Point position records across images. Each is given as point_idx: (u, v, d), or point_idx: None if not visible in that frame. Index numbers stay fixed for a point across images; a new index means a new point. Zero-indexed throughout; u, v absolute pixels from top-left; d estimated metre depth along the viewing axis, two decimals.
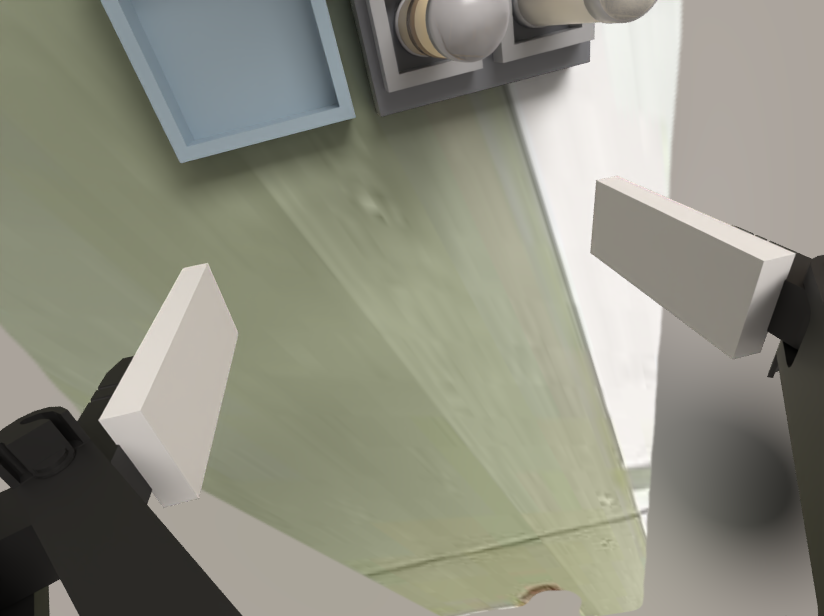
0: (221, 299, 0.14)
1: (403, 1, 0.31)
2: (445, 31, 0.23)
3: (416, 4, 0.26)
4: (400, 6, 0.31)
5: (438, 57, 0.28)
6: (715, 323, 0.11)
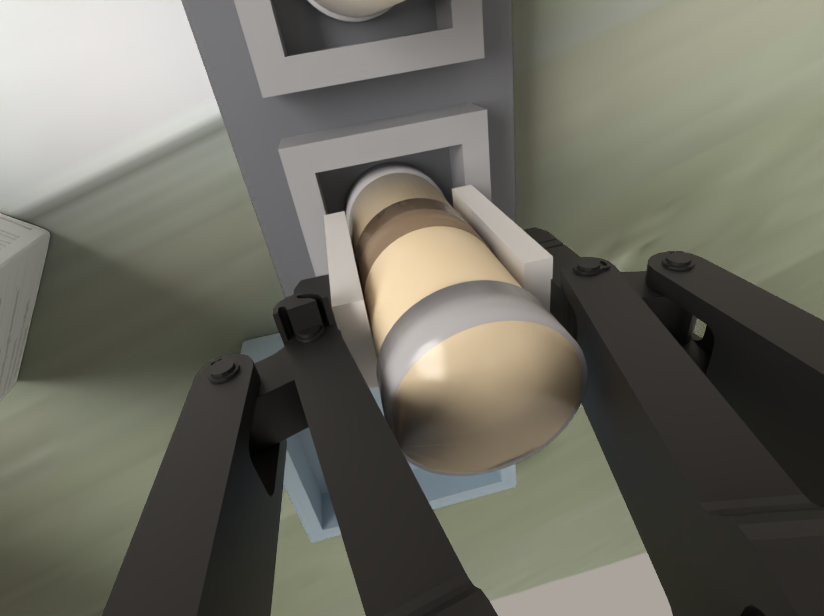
0: None
1: None
2: (509, 448, 0.10)
3: None
4: None
5: None
6: None
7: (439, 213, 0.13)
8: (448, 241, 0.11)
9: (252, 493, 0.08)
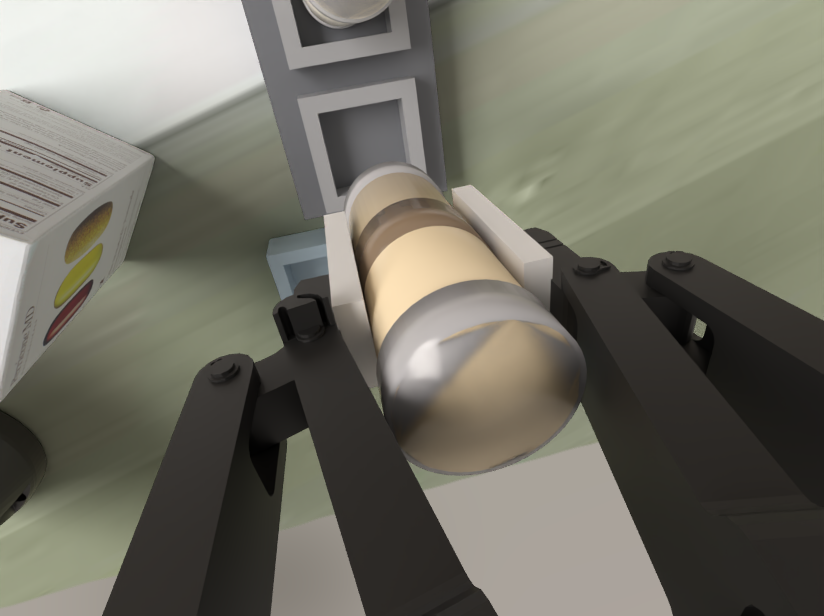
0: None
1: None
2: (509, 447, 0.10)
3: None
4: None
5: None
6: None
7: (439, 213, 0.13)
8: (448, 241, 0.11)
9: (252, 493, 0.08)
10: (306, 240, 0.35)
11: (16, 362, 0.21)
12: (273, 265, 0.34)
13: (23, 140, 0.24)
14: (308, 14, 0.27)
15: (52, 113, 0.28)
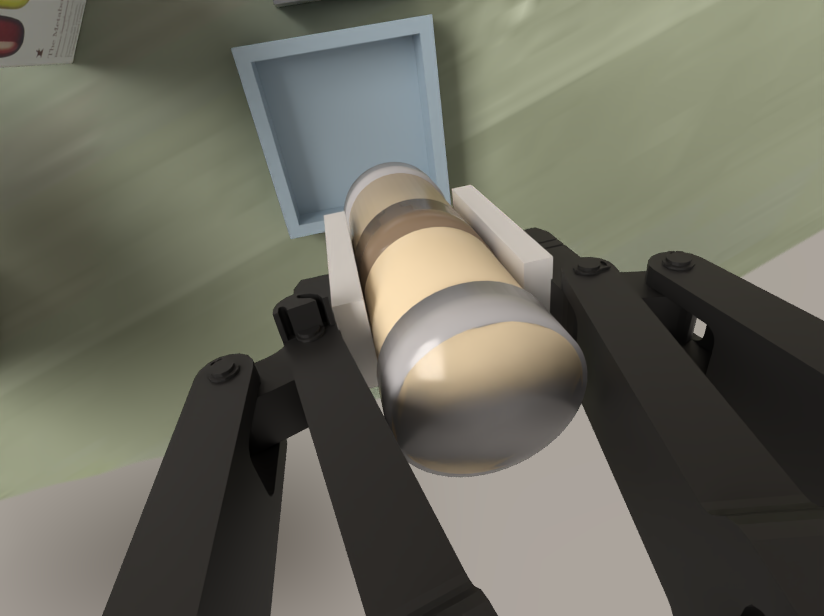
0: None
1: None
2: (510, 449, 0.10)
3: None
4: None
5: None
6: None
7: (439, 214, 0.13)
8: (448, 242, 0.11)
9: (252, 493, 0.08)
10: None
11: None
12: (239, 61, 0.30)
13: None
14: None
15: None
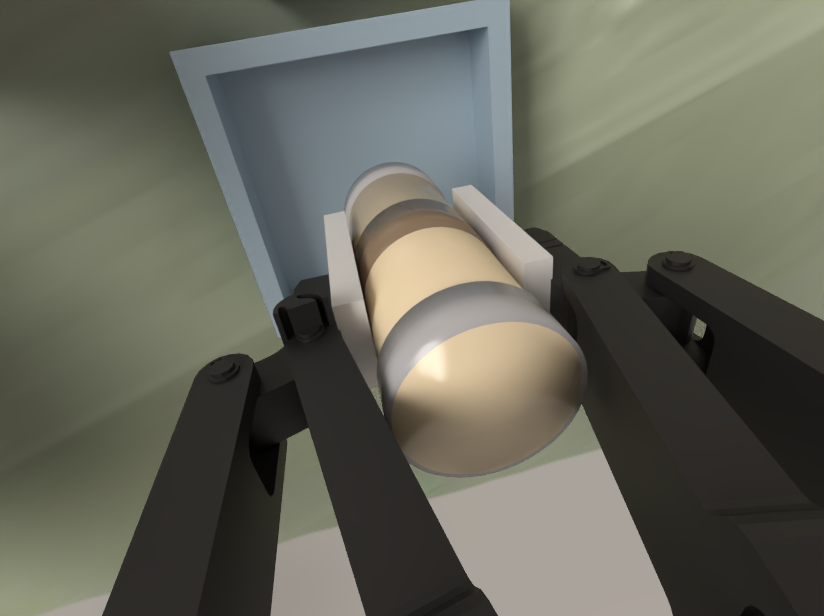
0: None
1: None
2: (510, 449, 0.10)
3: None
4: None
5: None
6: None
7: (440, 214, 0.13)
8: (448, 242, 0.11)
9: (252, 493, 0.08)
10: None
11: None
12: (186, 74, 0.18)
13: None
14: None
15: None
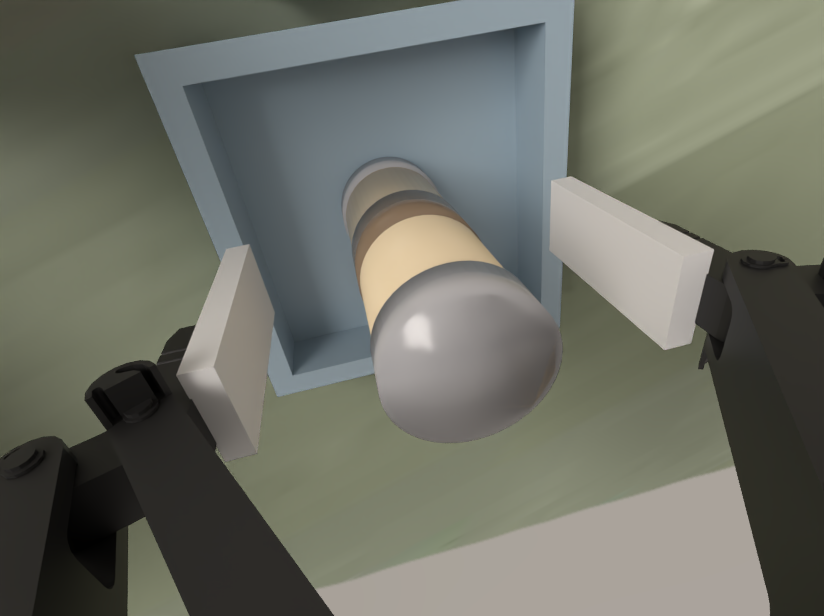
0: (261, 279, 0.15)
1: None
2: (492, 416, 0.11)
3: None
4: None
5: None
6: (649, 316, 0.12)
7: (430, 203, 0.14)
8: (437, 228, 0.12)
9: (80, 592, 0.07)
10: None
11: None
12: (157, 84, 0.14)
13: None
14: None
15: None
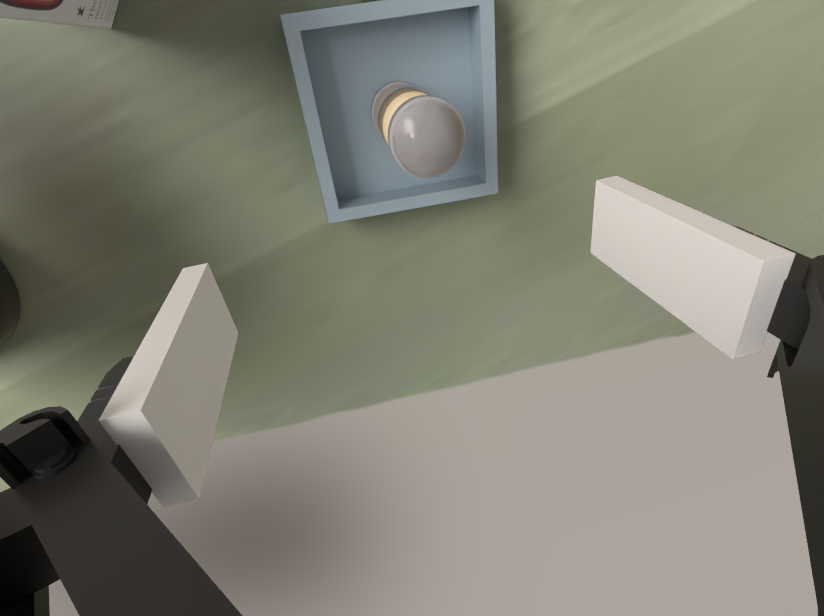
0: (221, 299, 0.14)
1: None
2: (438, 165, 0.25)
3: None
4: None
5: None
6: (715, 323, 0.11)
7: (417, 89, 0.28)
8: (418, 93, 0.26)
9: None
10: None
11: None
12: (288, 29, 0.28)
13: None
14: None
15: None
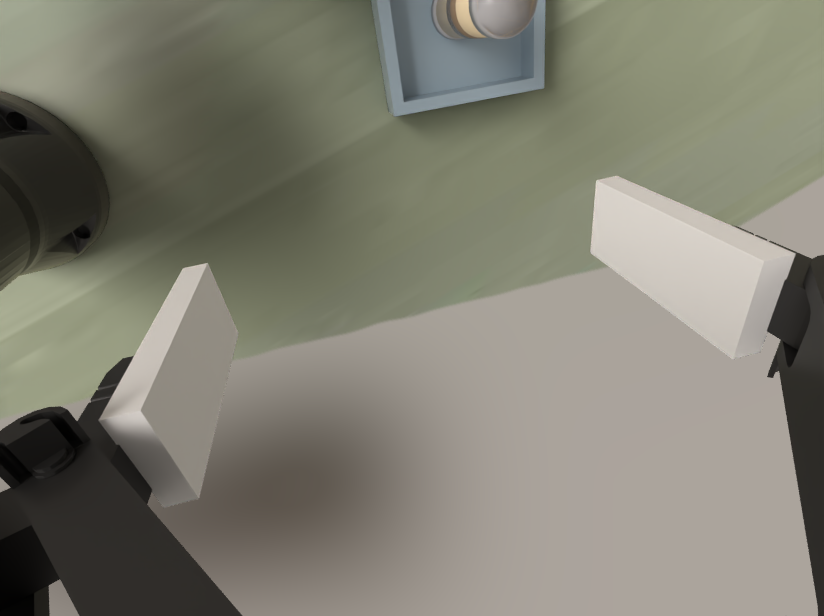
0: (221, 299, 0.14)
1: (442, 31, 0.38)
2: (513, 26, 0.29)
3: (468, 34, 0.33)
4: (445, 34, 0.38)
5: None
6: (715, 323, 0.11)
7: None
8: None
9: None
10: None
11: None
12: None
13: None
14: None
15: None
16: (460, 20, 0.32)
